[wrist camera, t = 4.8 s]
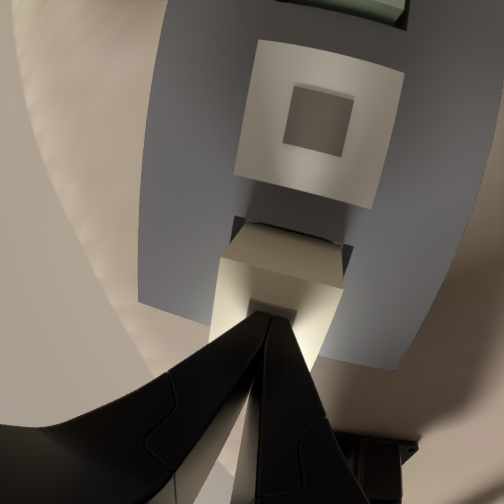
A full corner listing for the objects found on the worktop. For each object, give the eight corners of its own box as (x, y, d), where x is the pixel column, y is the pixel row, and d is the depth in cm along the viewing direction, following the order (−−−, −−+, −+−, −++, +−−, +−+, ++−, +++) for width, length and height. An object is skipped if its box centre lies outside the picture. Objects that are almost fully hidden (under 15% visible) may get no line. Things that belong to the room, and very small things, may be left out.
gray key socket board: (385, 324, 13) (393, 371, 10) (170, 267, 14) (138, 301, 12) (474, -8, 7) (506, -32, 4) (225, -64, 8) (198, -98, 5)
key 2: (314, 321, 11) (308, 377, 9) (233, 299, 11) (206, 350, 9) (340, 245, 10) (343, 291, 7) (247, 220, 10) (219, 258, 8)
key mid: (359, 183, 9) (371, 210, 6) (258, 158, 9) (232, 175, 7) (382, 84, 7) (405, 72, 5) (278, 60, 8) (257, 38, 5)
